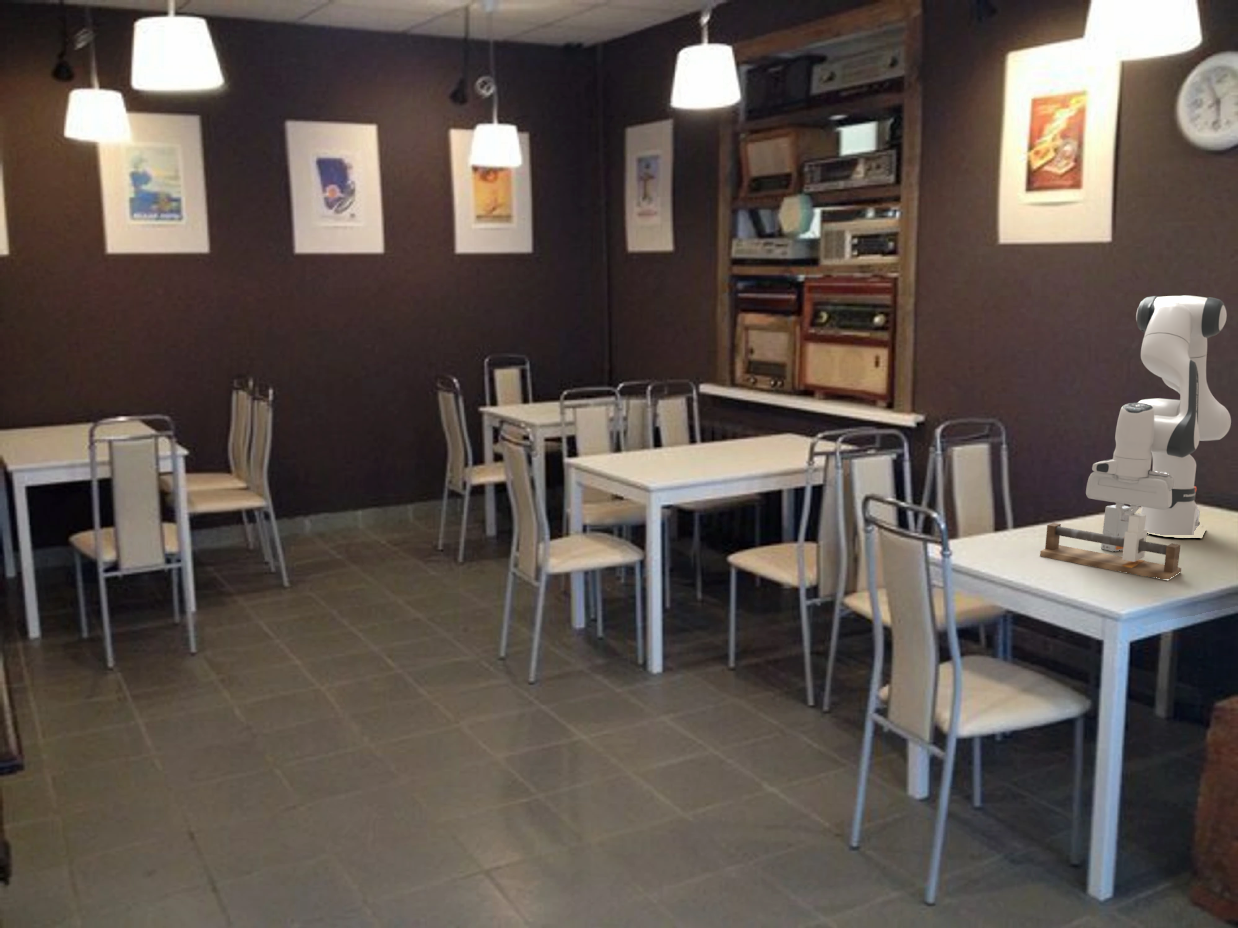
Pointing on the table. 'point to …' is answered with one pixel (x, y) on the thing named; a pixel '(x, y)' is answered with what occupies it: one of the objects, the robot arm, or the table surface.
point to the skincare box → (1114, 525)
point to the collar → (1134, 537)
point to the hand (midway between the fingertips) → (1125, 521)
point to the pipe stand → (1108, 560)
